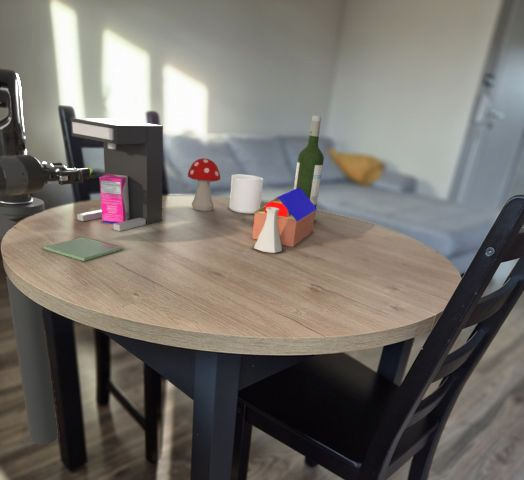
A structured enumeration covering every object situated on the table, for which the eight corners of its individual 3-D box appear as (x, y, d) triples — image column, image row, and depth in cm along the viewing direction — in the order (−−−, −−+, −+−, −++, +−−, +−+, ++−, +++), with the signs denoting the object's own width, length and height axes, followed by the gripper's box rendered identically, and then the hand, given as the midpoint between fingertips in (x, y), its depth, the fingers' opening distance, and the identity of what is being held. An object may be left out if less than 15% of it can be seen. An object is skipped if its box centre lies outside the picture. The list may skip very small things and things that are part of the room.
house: (313, 232, 141) (319, 190, 135) (293, 247, 124) (300, 201, 118) (274, 224, 144) (279, 183, 138) (250, 238, 127) (255, 192, 121)
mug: (255, 215, 152) (259, 181, 147) (225, 210, 153) (227, 176, 148) (264, 208, 163) (268, 176, 158) (236, 203, 164) (238, 172, 159)
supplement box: (108, 217, 130) (106, 173, 124) (130, 220, 130) (129, 175, 124) (101, 222, 125) (98, 176, 119) (123, 225, 125) (122, 179, 119)
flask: (259, 243, 124) (264, 203, 119) (286, 248, 122) (291, 208, 117) (249, 249, 118) (253, 208, 113) (276, 255, 116) (282, 213, 111)
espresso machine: (76, 220, 124) (68, 117, 113) (122, 210, 138) (119, 118, 127) (118, 231, 119) (114, 125, 108) (162, 220, 133) (163, 125, 122)
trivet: (44, 249, 101) (44, 246, 101) (83, 239, 110) (83, 236, 110) (83, 261, 97) (83, 258, 97) (121, 250, 106) (120, 247, 106)
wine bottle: (292, 215, 158) (306, 114, 144) (316, 219, 156) (332, 117, 142) (287, 219, 151) (301, 114, 137) (311, 223, 150) (328, 117, 136)
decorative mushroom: (186, 210, 147) (188, 158, 140) (186, 204, 154) (188, 154, 147) (219, 213, 149) (222, 162, 142) (217, 207, 156) (220, 158, 149)
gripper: (36, 161, 93) (97, 157, 106) (-14, 150, 98) (50, 148, 111) (41, 200, 96) (99, 192, 109) (-8, 188, 101) (53, 182, 115)
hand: (75, 170), depth 110 cm, fingers open, 8 cm apart
